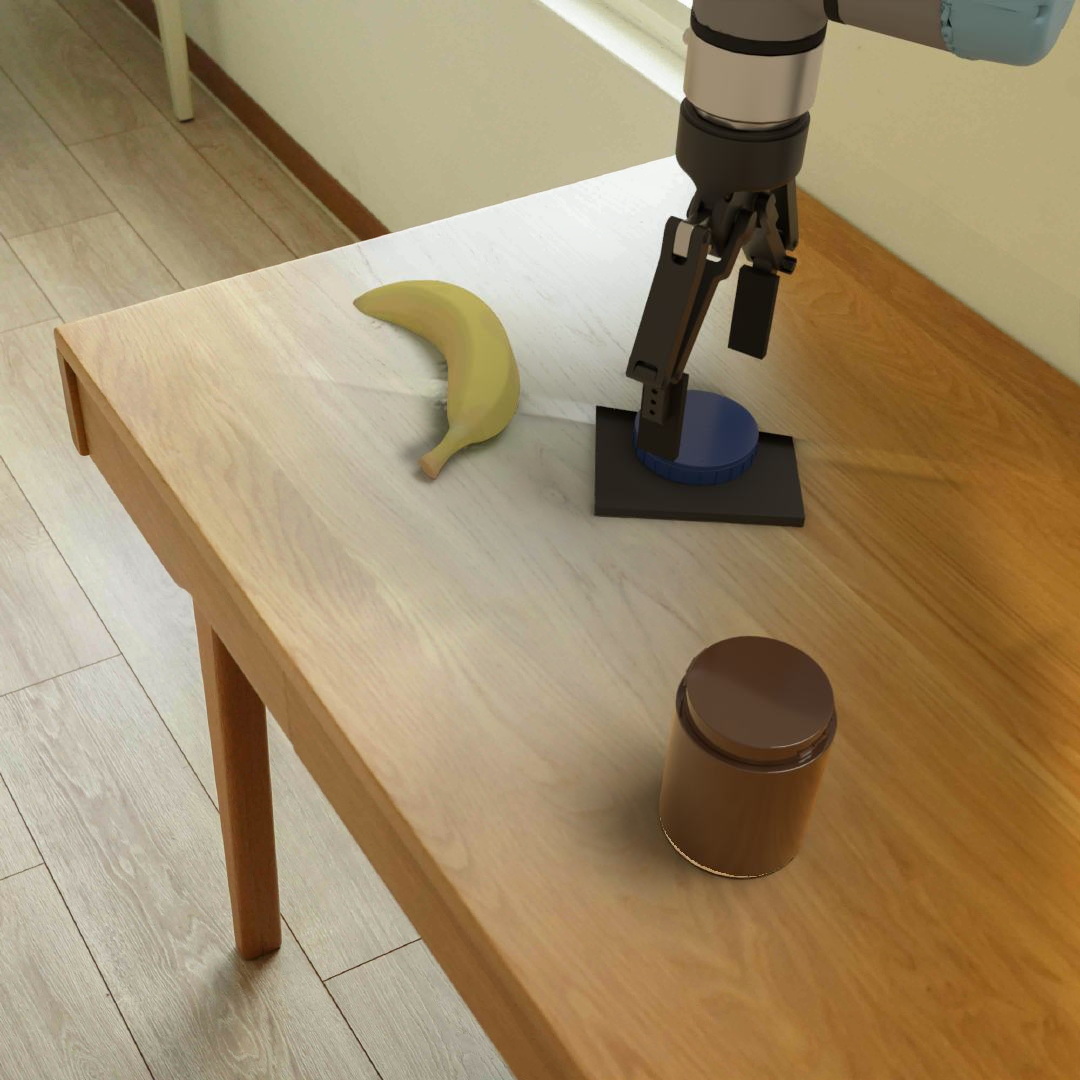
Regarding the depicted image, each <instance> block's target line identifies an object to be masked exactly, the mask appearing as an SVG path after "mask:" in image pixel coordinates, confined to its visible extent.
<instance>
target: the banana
mask: <svg viewBox="0 0 1080 1080" xmlns="http://www.w3.org/2000/svg"><path fill="white" fill-rule="evenodd" d="M352 305H353V306H354V307H355V309H357V311H359V312H360V313H362V314H364V315H367V316H370V317H374V318H376V319H379V320H384V321H386V322H388V323H393V324H395V325H397V326H400V327H403V328H405V329H407V330H409V331H410V332H413V333H415V334H417V335H418V336H420V337H422V338H423V339H425V340H427V341H428V342H429V343H430V344H431V345H433V346H434V347H435V348H436V350H437V351H438V352H439V353H440V354H441V356H442V357H443V358H444V359H445V361H446V364H447V387H446V411H447V412H446V415H447V416H446V417H447V423H448V425H449V429H448V431H447V432H446V434H445V436H444V437H443V439H442V440H441V442H440V443H439V444H438V445H437V446H435V448H433V449H431V450H430V451H429V452H427V453H425V454H424V455H422V456H421V457H419V458H418V459H417V462H418V465H419V467H420V469H421V470H422V471H423V472H424V473H425V475H426V476H428V477H429V478H431V479H433V480H435V479H437V478H438V476H439V474H440V472H441V470H442V468H443V466H444V465H445V463H446V462H447V461H448V459H449V458H451V456H453V455H454V454H455V453H456V452H458V451H459V450H461V449H462V448H464V447H466V446H468V445H470V444H478V443H481V442H484V441H487V440H490V439H491V438H493V437H495V436H497V435H498V434H499V433H501V432H502V431H503V430H505V428H506V427H507V426H508V425H509V423H510V422H511V421H512V420H513V418H514V416H515V414H516V411H517V409H518V406H519V403H520V402H519V401H520V393H521V391H520V390H521V382H520V381H521V379H520V373H519V372H520V371H519V369H518V364H517V361H516V358H515V354H514V351H513V348H512V345H511V342H510V339H509V337H508V334H507V331H506V329H505V326H504V325H503V323H502V321H501V320H500V318H499V317H498V315H497V314H496V312H495V311H494V310H493V309H492V308H491V307H490V306H489V305H488V304H487V303H486V302H485V301H484V300H483V299H481V298H480V297H479V296H477V295H476V294H475V293H473V292H472V291H470V290H468V289H466V288H464V287H462V286H459V285H456V284H453V283H449V282H446V281H441V280H435V279H434V280H433V279H418V280H417V279H412V280H401V281H397V282H392V283H389V284H385V285H382V286H378V287H375V288H373V289H370V290H368V291H367V292H365V293H363V294H361V295H359V296H357V298H355V299H354V300H353V302H352Z"/></svg>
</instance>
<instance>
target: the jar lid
mask: <svg viewBox="0 0 1080 1080" xmlns="http://www.w3.org/2000/svg"><path fill="white" fill-rule="evenodd" d="M637 412H638V413H637V415H636V419H635V421H634V430H633V438H632V444H633V445H634V449H635V454H637V456H638V457H639V459H640V460H641V461H642V463H643V464H644V465H645V466H646V467H648V468H649V469H650V470H652V471H653V472H655V473H656V474H658V475H660V476H662V477H664V478H666V479H669V480H672V481H675V482H680V483H684V484H691V485H713V484H719V483H723V482H727V481H731V480H732V479H734V478H736V477H738V476H740V475H741V474H744V472H745V471H746V470H747V469H748V468H749V467H750V466H752V462H753V460H754V457H756V454H757V449H758V443H757V442H758V436H759V431H760V430H759V427H758V423H757V421H756V419H755V418H754V416H753V414H752V413H751V412H750V411H749V410H748V409H747V408H746V407H745V406H743V405H742V404H741V403H739V402H737V401H736V400H734V399H733V398H730V397H727V396H725V395H722V394H719V393H716V392H713V391H709V390H701V389H687V396H686V404H685V411H684V419H683V427H682V434H681V442H680V450H679V456H678V458H677V459H676V460H675V461H674V462H671V461H668V460H666V459H663V458H661V457H658V456H656V455H653V454H651V453H648V452H646V451H643V450H641V449H638V448H636V447H637V438H638V428H639V418H640V409H639V410H638V411H637Z"/></svg>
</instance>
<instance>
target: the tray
mask: <svg viewBox="0 0 1080 1080" xmlns="http://www.w3.org/2000/svg"><path fill="white" fill-rule="evenodd" d="M637 413H638V411H635V410H628V409H622V408H615V407H610V406H603V405H597V404H596V405H595V437H594V439H595V443H594V504H593V505H594V509H593V511H594V512H593V515H594V516H595V517H612V518H613V517H614V518H633V519H634V518H635V519H650V520H651V519H654V520H668V521H669V520H671V521H691V522H710V523H711V522H712V523H727V524H728V523H729V524H745V525H746V524H747V525H749V524H750V525H766V526H767V525H768V526H787V527H804V526H805V521H806V514H805V513H806V512H805V506H804V500H803V494H802V488H801V481H800V480H801V479H800V475H799V469H798V462H797V461H798V460H797V456H796V448H795V442H794V436H792V435H786V434H779V433H774V432H769V431H768V432H767V431H761V430H758V431H759V436H758V442H757V443H758V449H757V454H756V457H754V460H753V462H752V466H750V467H749V468H748V469H747V470H746V471H745V472H744V474H741V475H740V476H738V477H736V478H734V479H732V480H731V481H727V482H723V483H719V484H713V485H691V484H684V483H680V482H675V481H672V480H669V479H666V478H664V477H662V476H660V475H658V474H656V473H655V472H653V471H652V470H650V469H649V468H648V467H646V466H645V465H644V464H643V463H642V461H641V460H640V459H639V457H638V456H637V454H635V449H634V445H633V444H632V438H633V430H634V421H635V419H636V415H637Z"/></svg>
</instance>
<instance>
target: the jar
mask: <svg viewBox="0 0 1080 1080" xmlns="http://www.w3.org/2000/svg"><path fill="white" fill-rule="evenodd" d="M837 729H838V713H837V707H836V702H835V694H834V688H833V686H832V683H831V681H830V678H829V677H828V674H827V673H826V672H825V671H824V669H823V668H822V667H821V665H820V664H819V663H818V662H817V661H816V660H815V659H814V658H813V657H812V656H810V655H809V654H807V653H806V652H805V651H803V650H802V649H799V648H798V647H796V646H794V645H792V644H790V643H788V642H785V641H783V640H779V639H777V638H771V637H768V636H766V637H765V636H758V635H740V636H734V637H733V636H732V637H728V638H725V639H722V640H719V641H716V642H715V643H713V644H711V645H709V646H708V647H705V648H704V649H702V650H701V651H700V652H699V653H698V654H697V655H696V656H693V658H692V660H691V662H690V664H689V665H688V666H687V669H686V670H685V673H684V675H683V676H682V678H681V679H680V682H679V684H678V686H677V689H676V693H675V699H674V704H673V711H672V717H671V723H670V730H669V737H668V742H667V749H666V754H665V761H664V768H663V773H662V782H661V787H660V794H659V800H658V816H659V815H660V818H661V823H662V825H663V828H664V830H665V831H666V834H667V835H668V837H669V838H670V839H671V841H672V842H673V843H674V845H676V846H677V848H679V849H680V851H681V852H683V853H684V854H685V855H686V856H688V857H689V858H690V859H691V860H694V861H695V862H697V863H698V864H700V865H701V866H705V867H707V868H710V869H712V870H714V871H718V872H721V873H726V874H729V875H734V876H748V877H749V876H759V875H762V874H764V875H765V874H766V873H767V874H768V873H770V872H773V871H775V870H777V869H778V868H781V867H782V866H784V865H785V864H787V863H788V862H789V861H790V860H791V859H792V858H793V857H794V856H795V855H796V854H797V855H798V853H799V852H800V851H799V850H801V849H802V847H803V846H804V843H803V842H805V839H806V836H807V834H808V830H809V826H810V822H811V819H812V816H813V812H814V809H815V806H816V802H817V799H818V796H819V791H820V789H821V784H822V782H823V778H824V775H825V771H826V768H827V765H828V761H829V758H830V754H831V750H832V747H833V745H834V740H835V737H836V734H837ZM660 818H659V819H660ZM661 823H660V824H661ZM801 846H802V847H801ZM800 848H801V849H800ZM797 855H796V856H797ZM796 856H795V857H796ZM795 857H794V858H795ZM794 858H793V859H794ZM793 859H792V860H793ZM792 860H791V861H792ZM791 861H790V862H791ZM790 862H789V863H790ZM789 863H788V864H789ZM788 864H787V865H788ZM785 866H786V865H785ZM785 866H784V867H785ZM782 868H783V867H782ZM782 868H781V869H782ZM777 871H778V870H777ZM775 872H776V871H775ZM773 873H774V872H773ZM768 875H769V874H768ZM765 876H766V875H765Z"/></svg>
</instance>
